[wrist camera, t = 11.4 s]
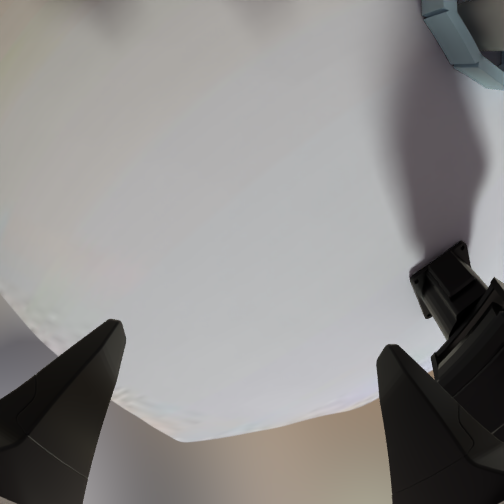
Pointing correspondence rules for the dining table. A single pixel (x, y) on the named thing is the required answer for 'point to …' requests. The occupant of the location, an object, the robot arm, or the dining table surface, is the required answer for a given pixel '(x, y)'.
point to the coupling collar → (461, 44)
